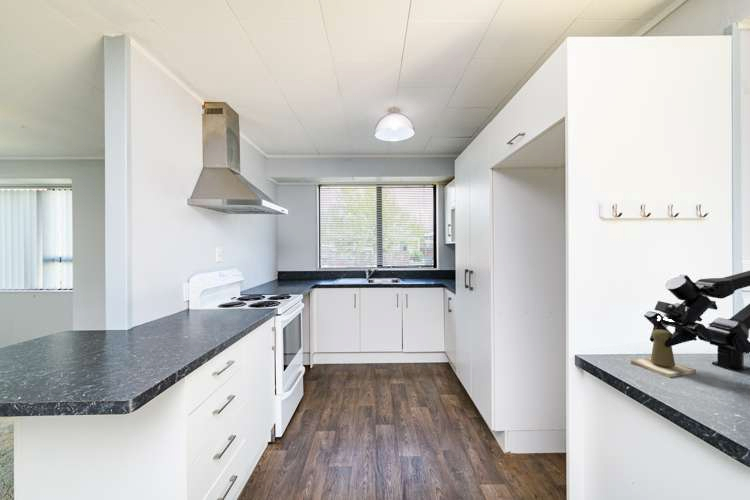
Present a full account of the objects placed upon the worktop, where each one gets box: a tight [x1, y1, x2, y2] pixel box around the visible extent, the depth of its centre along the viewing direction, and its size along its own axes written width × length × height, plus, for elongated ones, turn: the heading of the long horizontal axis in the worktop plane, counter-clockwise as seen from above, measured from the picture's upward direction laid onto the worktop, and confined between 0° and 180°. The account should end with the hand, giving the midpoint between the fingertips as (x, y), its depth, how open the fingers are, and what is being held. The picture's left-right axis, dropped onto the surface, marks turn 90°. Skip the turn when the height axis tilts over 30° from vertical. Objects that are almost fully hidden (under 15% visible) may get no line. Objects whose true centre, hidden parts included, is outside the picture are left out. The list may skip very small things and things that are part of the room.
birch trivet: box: [630, 357, 697, 378], centre depth 102 cm, size 12×12×1 cm
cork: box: [650, 329, 675, 367], centre depth 102 cm, size 6×6×11 cm
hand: (658, 343), depth 102 cm, fingers closed on cork, 5 cm apart
